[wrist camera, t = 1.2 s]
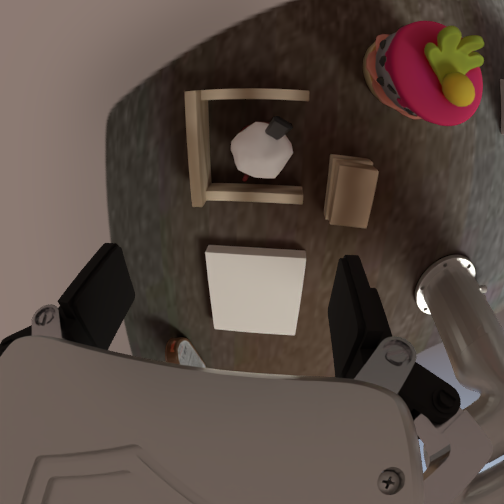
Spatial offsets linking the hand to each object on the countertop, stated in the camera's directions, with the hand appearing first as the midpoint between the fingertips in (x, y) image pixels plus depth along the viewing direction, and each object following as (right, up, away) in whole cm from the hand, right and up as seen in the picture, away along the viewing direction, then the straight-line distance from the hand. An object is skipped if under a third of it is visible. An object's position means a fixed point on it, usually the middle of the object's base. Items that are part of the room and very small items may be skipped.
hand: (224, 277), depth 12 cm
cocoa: (+3, +14, +21) cm, 25 cm away
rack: (+1, +14, +21) cm, 25 cm away
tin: (-11, -20, +45) cm, 51 cm away
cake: (+19, +22, +13) cm, 32 cm away
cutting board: (+2, -5, +33) cm, 34 cm away
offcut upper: (+13, +8, +21) cm, 26 cm away
